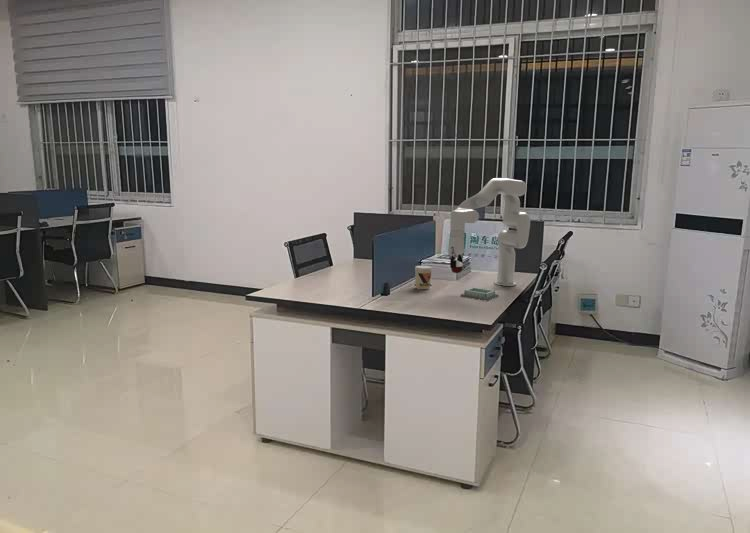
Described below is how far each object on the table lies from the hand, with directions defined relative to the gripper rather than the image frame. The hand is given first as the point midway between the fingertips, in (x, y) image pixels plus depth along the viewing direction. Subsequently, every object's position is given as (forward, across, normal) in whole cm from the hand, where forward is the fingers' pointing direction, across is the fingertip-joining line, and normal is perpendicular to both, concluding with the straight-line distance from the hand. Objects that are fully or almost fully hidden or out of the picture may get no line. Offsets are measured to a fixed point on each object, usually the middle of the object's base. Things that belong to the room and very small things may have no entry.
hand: (456, 266), depth 310 cm
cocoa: (+3, 0, 0) cm, 3 cm away
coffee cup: (+14, +4, -18) cm, 23 cm away
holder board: (+14, +1, +15) cm, 21 cm away
